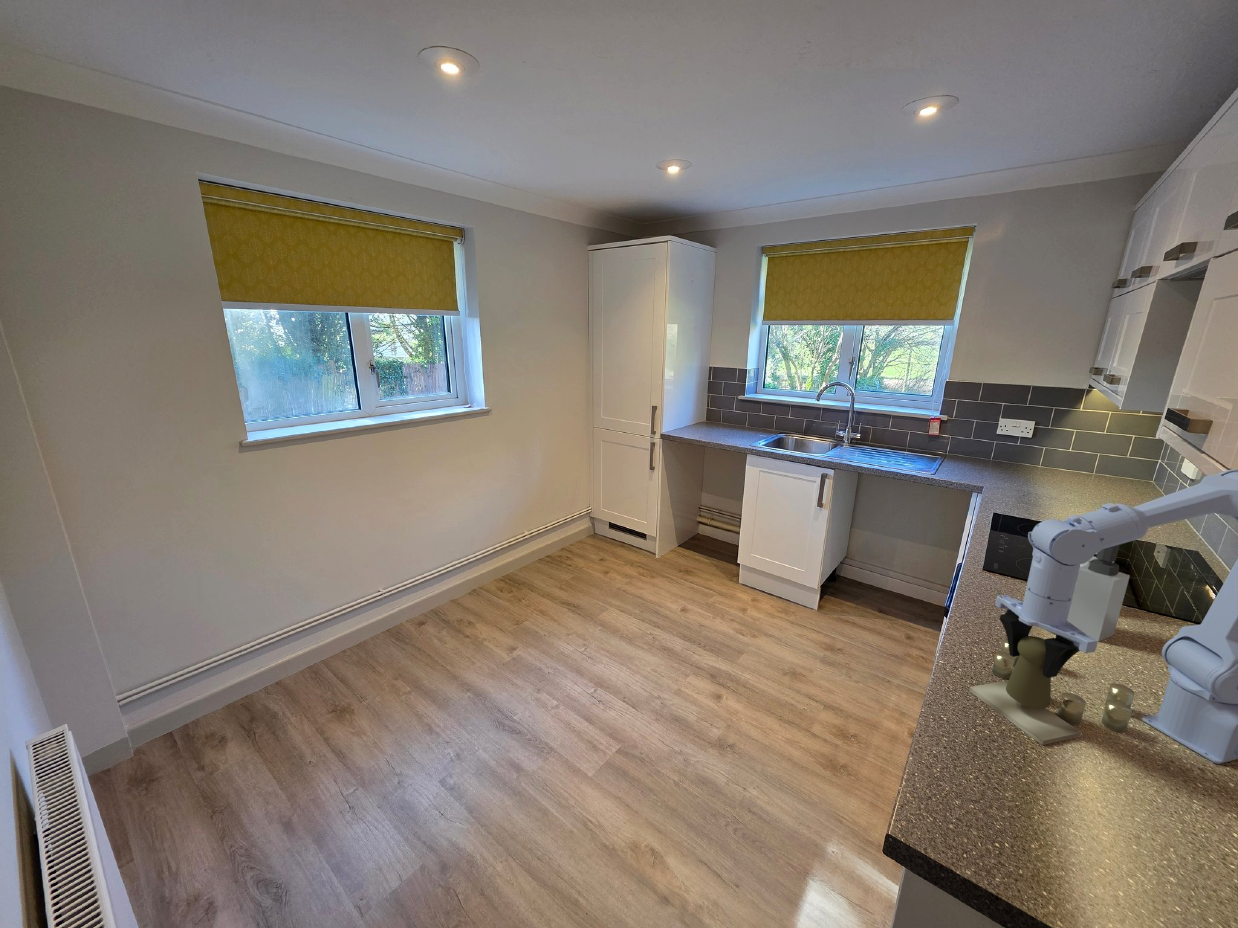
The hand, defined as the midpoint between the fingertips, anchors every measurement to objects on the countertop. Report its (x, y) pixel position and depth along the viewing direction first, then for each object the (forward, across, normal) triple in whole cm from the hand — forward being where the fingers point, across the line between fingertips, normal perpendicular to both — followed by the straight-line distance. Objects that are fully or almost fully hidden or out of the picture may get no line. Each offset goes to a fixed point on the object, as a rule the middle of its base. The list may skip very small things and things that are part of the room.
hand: (1032, 664), depth 83 cm
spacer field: (+10, -3, +12) cm, 16 cm away
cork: (+7, 0, +1) cm, 7 cm away
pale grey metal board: (+10, 0, 0) cm, 10 cm away
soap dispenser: (+10, -18, +40) cm, 45 cm away
